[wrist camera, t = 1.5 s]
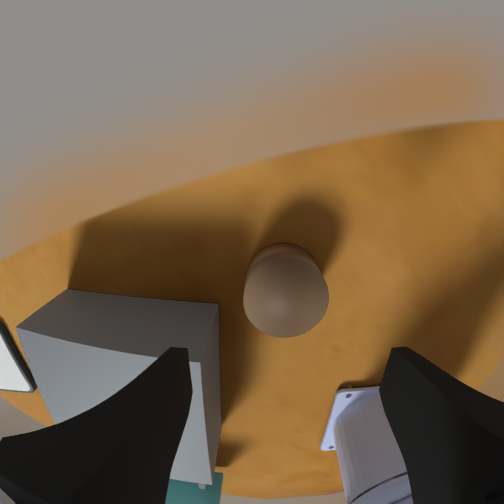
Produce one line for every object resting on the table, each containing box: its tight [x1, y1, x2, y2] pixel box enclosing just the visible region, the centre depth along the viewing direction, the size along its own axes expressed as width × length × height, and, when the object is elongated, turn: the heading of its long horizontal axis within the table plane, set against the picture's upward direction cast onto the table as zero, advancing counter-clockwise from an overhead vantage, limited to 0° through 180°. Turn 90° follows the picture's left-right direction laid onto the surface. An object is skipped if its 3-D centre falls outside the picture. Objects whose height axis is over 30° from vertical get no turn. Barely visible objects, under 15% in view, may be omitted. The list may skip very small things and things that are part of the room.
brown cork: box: [243, 243, 329, 337], centre depth 17 cm, size 4×4×4 cm
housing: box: [16, 289, 222, 485], centre depth 18 cm, size 12×12×6 cm
